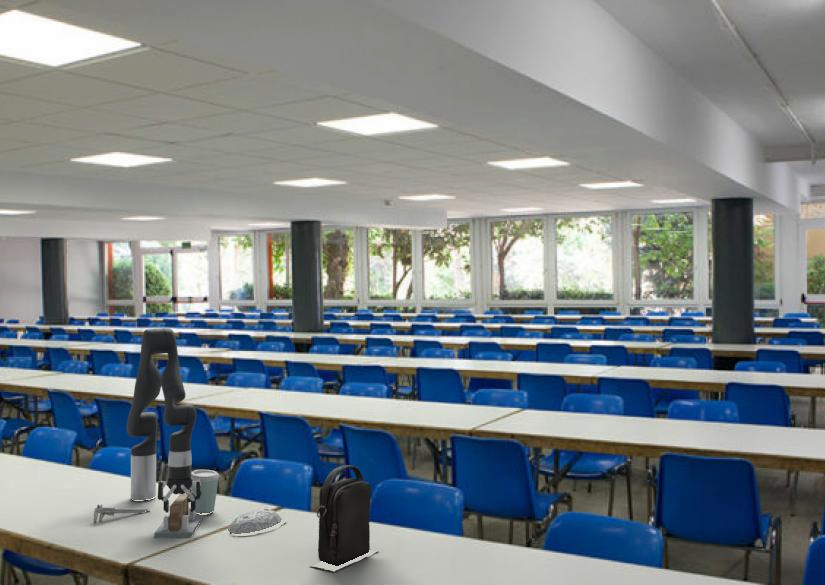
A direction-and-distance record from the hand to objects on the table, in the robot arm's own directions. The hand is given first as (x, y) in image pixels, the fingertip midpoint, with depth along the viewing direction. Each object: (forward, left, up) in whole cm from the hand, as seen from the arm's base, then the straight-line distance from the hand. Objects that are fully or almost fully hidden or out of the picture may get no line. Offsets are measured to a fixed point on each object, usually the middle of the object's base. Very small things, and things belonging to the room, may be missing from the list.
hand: (179, 511), depth 265 cm
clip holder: (0, 0, -6) cm, 6 cm away
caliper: (-15, -23, -6) cm, 28 cm away
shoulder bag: (+35, +56, -6) cm, 66 cm away
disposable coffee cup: (-18, +5, -6) cm, 20 cm away
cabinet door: (0, 0, -4) cm, 4 cm away
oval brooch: (0, +26, -6) cm, 26 cm away
